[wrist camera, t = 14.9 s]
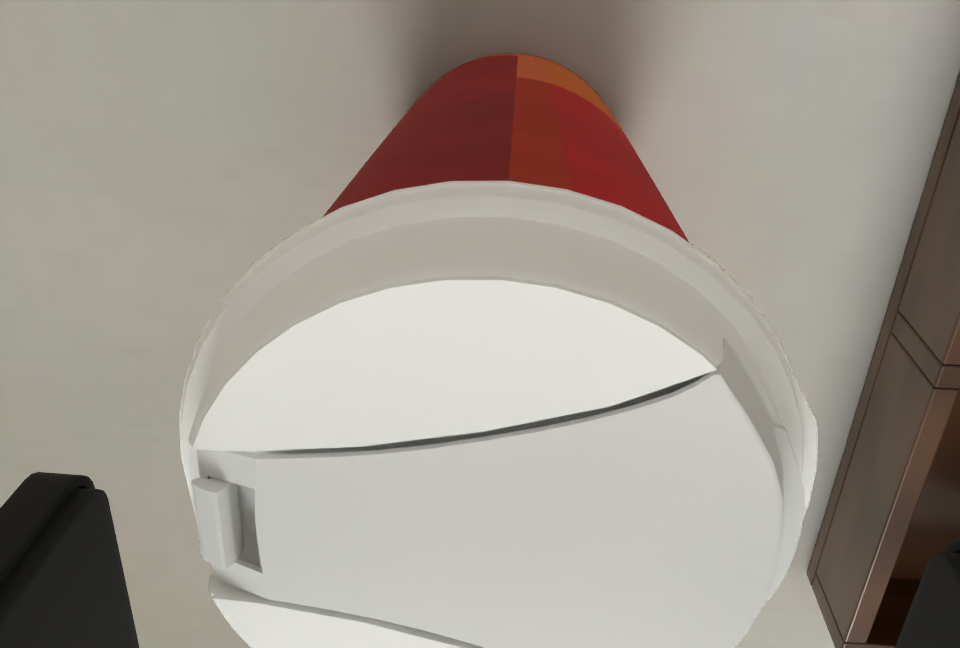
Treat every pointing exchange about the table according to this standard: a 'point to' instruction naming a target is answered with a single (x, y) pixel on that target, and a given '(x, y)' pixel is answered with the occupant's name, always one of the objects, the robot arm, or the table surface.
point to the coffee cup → (495, 400)
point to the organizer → (901, 433)
